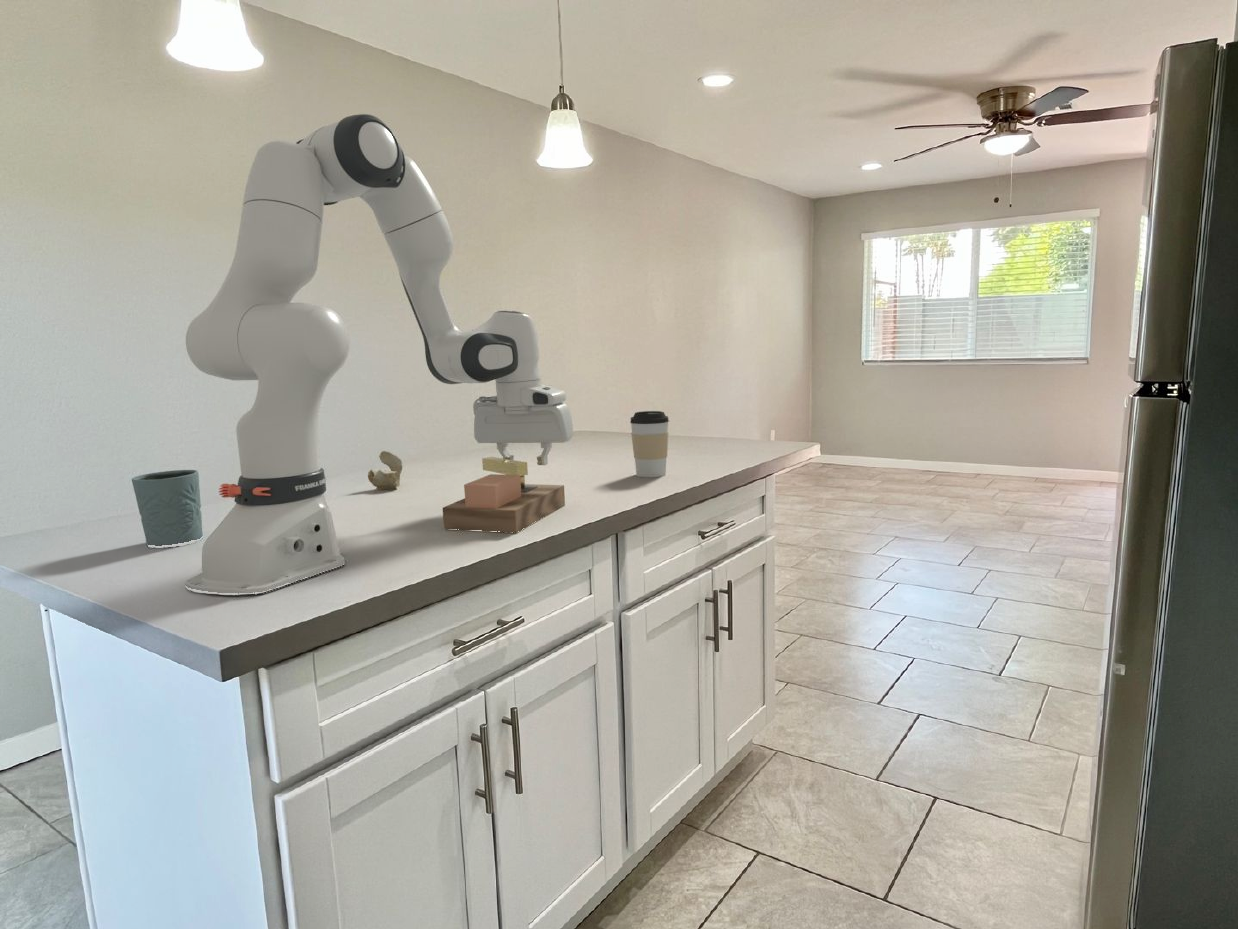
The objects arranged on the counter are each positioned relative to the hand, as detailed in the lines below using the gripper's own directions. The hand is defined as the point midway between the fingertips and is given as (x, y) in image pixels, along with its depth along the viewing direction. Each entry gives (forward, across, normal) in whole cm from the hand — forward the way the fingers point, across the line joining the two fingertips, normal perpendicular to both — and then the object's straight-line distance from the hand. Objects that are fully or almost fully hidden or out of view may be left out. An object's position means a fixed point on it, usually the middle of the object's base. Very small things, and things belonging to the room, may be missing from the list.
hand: (525, 464), depth 155 cm
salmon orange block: (+4, +1, -16) cm, 17 cm away
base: (+8, +1, -11) cm, 14 cm away
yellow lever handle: (+3, -3, -3) cm, 6 cm away
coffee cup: (+9, +15, +34) cm, 38 cm away
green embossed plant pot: (+6, -50, -39) cm, 63 cm away
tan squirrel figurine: (+8, -39, +9) cm, 41 cm away
